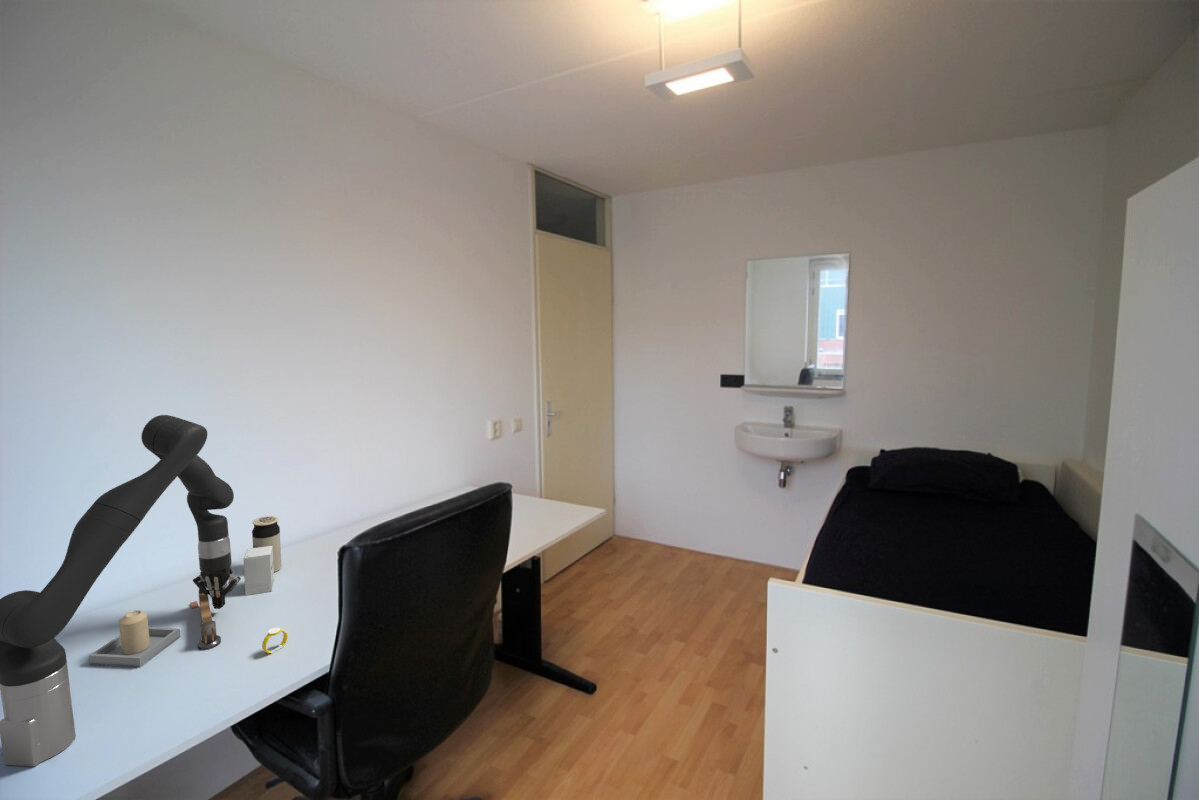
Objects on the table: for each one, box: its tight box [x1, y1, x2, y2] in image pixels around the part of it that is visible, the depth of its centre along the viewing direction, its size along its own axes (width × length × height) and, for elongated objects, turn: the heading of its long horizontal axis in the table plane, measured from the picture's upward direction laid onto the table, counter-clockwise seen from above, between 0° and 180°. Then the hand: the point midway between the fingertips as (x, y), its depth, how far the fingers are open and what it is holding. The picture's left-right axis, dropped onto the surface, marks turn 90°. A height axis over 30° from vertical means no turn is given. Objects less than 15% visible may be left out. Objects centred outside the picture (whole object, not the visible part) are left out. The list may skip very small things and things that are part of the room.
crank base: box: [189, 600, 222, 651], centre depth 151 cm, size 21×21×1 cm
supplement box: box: [243, 546, 275, 596], centre depth 170 cm, size 7×7×13 cm
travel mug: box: [251, 515, 282, 573], centre depth 182 cm, size 8×8×18 cm
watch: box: [261, 626, 288, 654], centre depth 141 cm, size 6×3×6 cm, turn 152°
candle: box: [118, 609, 150, 655], centre depth 138 cm, size 6×6×10 cm
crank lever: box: [198, 587, 217, 644], centre depth 150 cm, size 24×3×6 cm, turn 39°
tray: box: [88, 626, 181, 668], centre depth 139 cm, size 13×13×2 cm
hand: (219, 607), depth 156 cm, fingers closed
